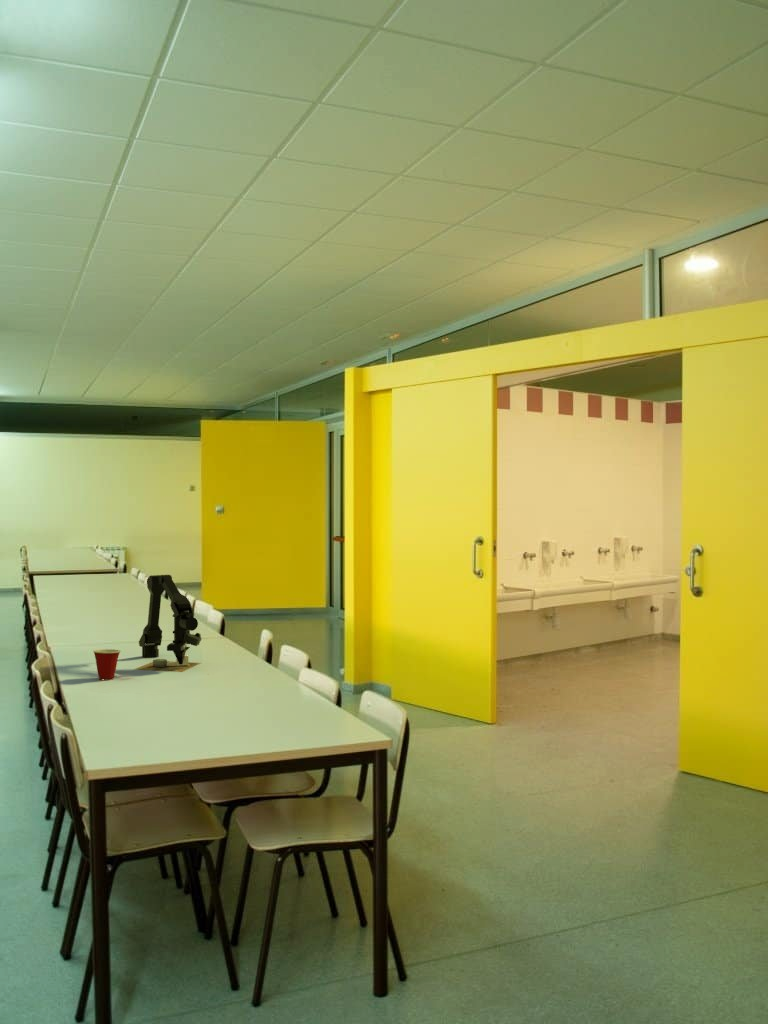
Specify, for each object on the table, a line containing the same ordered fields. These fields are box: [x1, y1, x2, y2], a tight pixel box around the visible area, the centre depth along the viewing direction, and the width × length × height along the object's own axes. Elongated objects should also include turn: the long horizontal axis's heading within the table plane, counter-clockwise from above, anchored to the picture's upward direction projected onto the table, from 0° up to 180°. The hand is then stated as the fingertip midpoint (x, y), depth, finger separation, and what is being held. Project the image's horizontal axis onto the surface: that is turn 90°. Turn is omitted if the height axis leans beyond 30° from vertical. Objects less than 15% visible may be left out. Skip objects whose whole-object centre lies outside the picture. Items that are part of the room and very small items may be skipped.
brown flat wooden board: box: [135, 660, 202, 673], centre depth 374 cm, size 22×20×1 cm
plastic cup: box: [93, 648, 122, 681], centre depth 353 cm, size 11×11×12 cm
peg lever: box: [152, 654, 189, 667], centre depth 374 cm, size 15×6×4 cm, turn 103°
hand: (180, 664), depth 371 cm, fingers closed
